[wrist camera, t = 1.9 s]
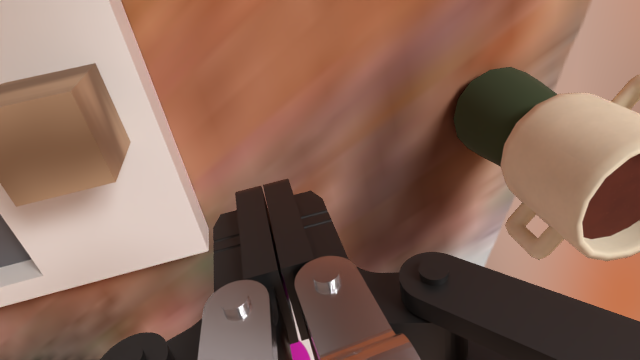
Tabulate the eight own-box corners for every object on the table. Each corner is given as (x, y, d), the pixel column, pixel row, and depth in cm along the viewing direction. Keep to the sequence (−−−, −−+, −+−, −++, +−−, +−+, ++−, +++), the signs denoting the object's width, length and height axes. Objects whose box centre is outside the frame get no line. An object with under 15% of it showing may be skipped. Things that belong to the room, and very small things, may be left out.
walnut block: (2, 83, 21) (-45, 116, 17) (95, 62, 21) (70, 91, 18) (47, 161, 23) (16, 206, 19) (130, 142, 24) (115, 182, 20)
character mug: (473, 184, 34) (599, 303, 23) (408, 148, 31) (517, 266, 20) (570, 65, 31) (772, 139, 20) (507, 11, 27) (705, 64, 17)
